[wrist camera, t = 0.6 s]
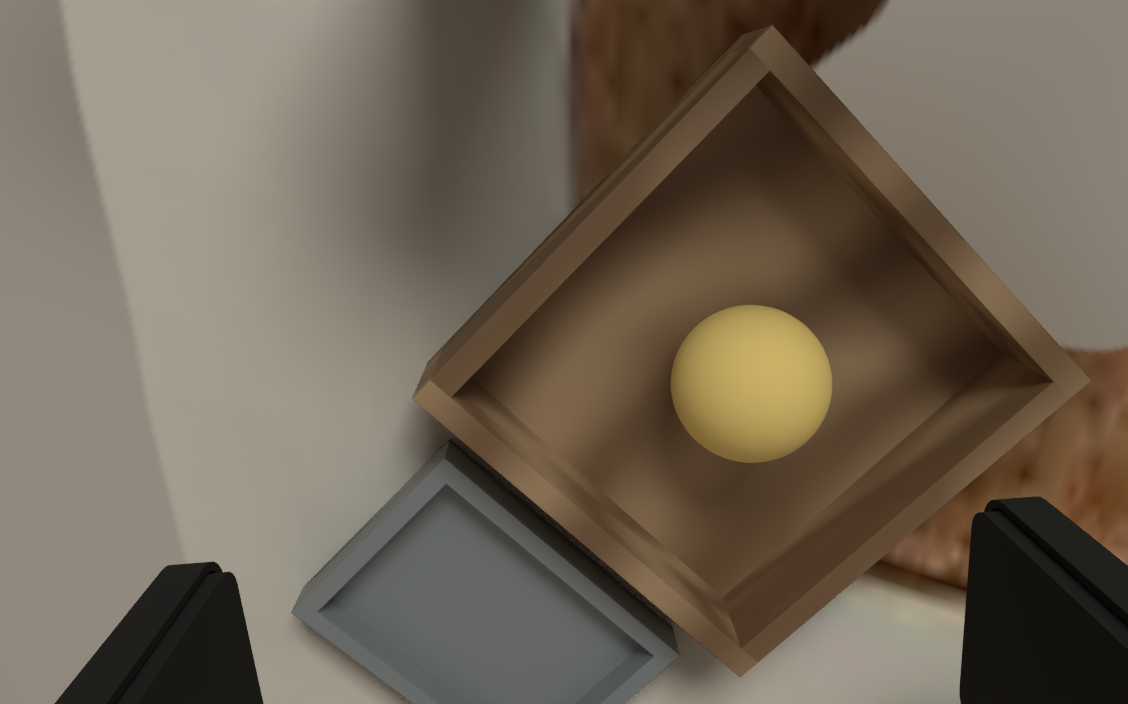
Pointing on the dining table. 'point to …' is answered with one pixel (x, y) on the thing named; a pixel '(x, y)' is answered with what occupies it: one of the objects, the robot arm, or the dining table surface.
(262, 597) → the dining table surface
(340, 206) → the dining table surface
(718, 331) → the ball
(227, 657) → the robot arm
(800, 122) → the walnut box
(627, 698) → the dish
